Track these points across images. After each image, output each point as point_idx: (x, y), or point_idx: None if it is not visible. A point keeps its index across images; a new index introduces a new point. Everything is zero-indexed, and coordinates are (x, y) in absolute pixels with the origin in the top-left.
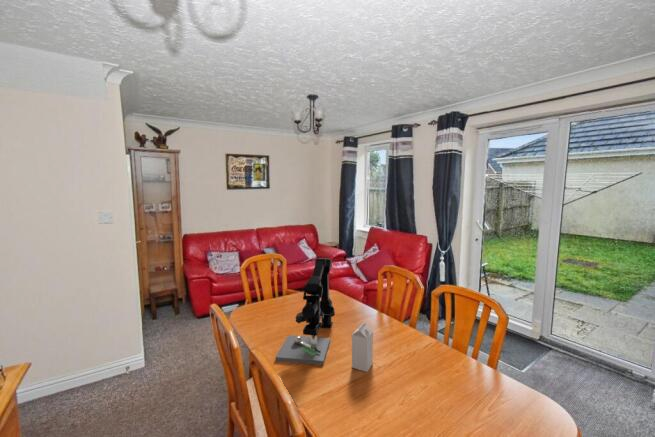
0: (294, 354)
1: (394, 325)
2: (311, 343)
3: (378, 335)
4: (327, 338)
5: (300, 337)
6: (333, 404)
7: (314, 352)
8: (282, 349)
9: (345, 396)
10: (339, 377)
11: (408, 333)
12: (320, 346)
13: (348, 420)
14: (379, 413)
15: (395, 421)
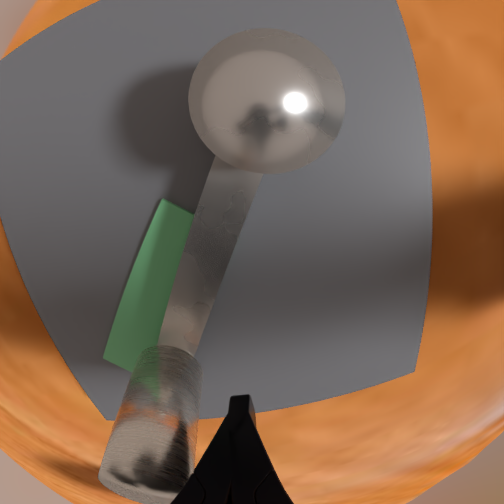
0: (41, 201)
1: (481, 445)
2: (120, 406)
3: (436, 454)
4: (412, 358)
5: (265, 155)
6: (4, 428)
7: None
8: (78, 31)
9: (44, 453)
10: (92, 449)
11: (432, 481)
12: (274, 367)
13: (6, 447)
14: (64, 487)
15: (71, 497)
